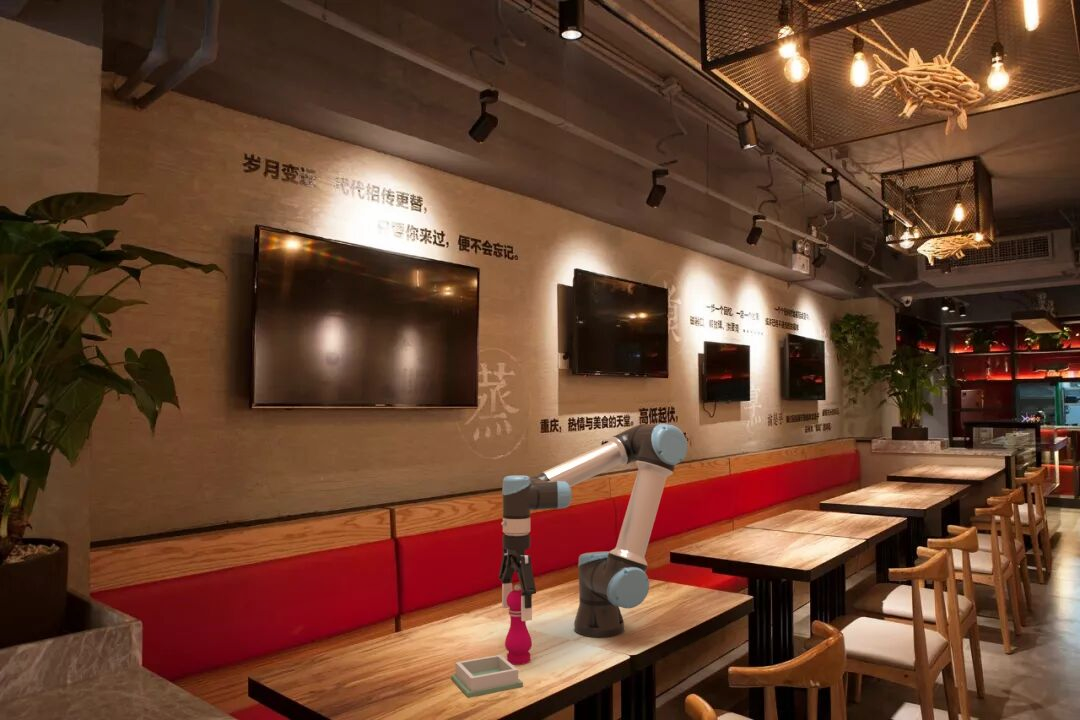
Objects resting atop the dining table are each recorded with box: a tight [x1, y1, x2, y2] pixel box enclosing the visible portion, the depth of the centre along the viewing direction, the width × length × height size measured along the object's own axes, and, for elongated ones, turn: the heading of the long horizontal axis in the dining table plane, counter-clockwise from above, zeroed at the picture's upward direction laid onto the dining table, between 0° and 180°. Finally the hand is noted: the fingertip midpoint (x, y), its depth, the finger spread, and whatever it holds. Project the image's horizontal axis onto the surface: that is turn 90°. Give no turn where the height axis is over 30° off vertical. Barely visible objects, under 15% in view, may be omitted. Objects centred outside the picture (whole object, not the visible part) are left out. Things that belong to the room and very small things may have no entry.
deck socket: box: [450, 654, 524, 698], centre depth 172 cm, size 14×13×4 cm
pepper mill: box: [504, 583, 533, 666], centre depth 188 cm, size 7×7×20 cm
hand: (516, 613), depth 188 cm, fingers open, 13 cm apart
